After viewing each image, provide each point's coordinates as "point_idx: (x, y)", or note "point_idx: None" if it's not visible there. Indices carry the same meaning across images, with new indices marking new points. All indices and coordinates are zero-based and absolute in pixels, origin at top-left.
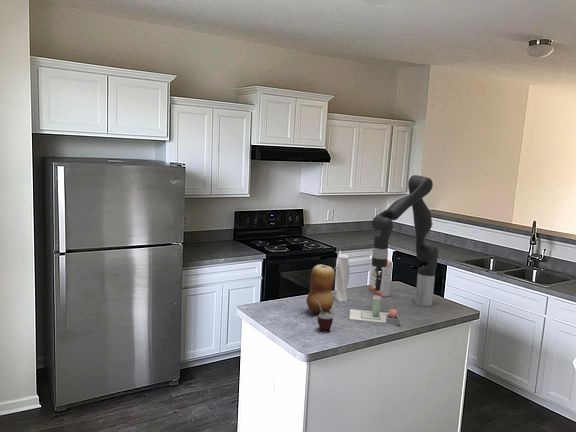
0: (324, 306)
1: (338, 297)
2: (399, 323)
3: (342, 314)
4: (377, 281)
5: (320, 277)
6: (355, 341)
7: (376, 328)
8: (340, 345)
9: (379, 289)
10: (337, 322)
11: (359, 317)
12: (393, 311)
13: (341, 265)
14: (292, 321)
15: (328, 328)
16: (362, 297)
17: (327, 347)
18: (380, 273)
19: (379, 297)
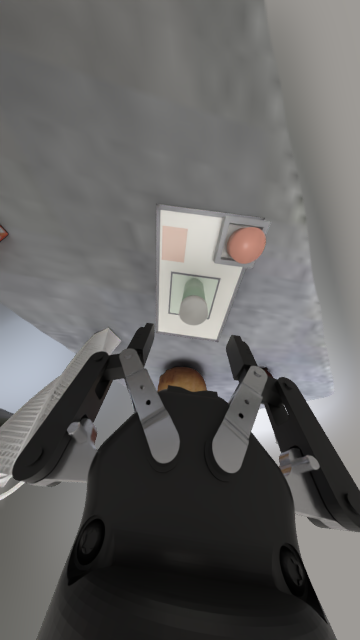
0: (205, 386)
1: (114, 349)
2: (255, 218)
3: (183, 343)
4: (282, 403)
5: None
6: (322, 342)
7: (266, 293)
8: (328, 362)
9: (246, 344)
10: (224, 354)
11: (205, 321)
12: (262, 248)
13: None
14: (220, 395)
15: (267, 373)
16: (55, 292)
17: (326, 376)
18: (346, 492)
19: (206, 307)
